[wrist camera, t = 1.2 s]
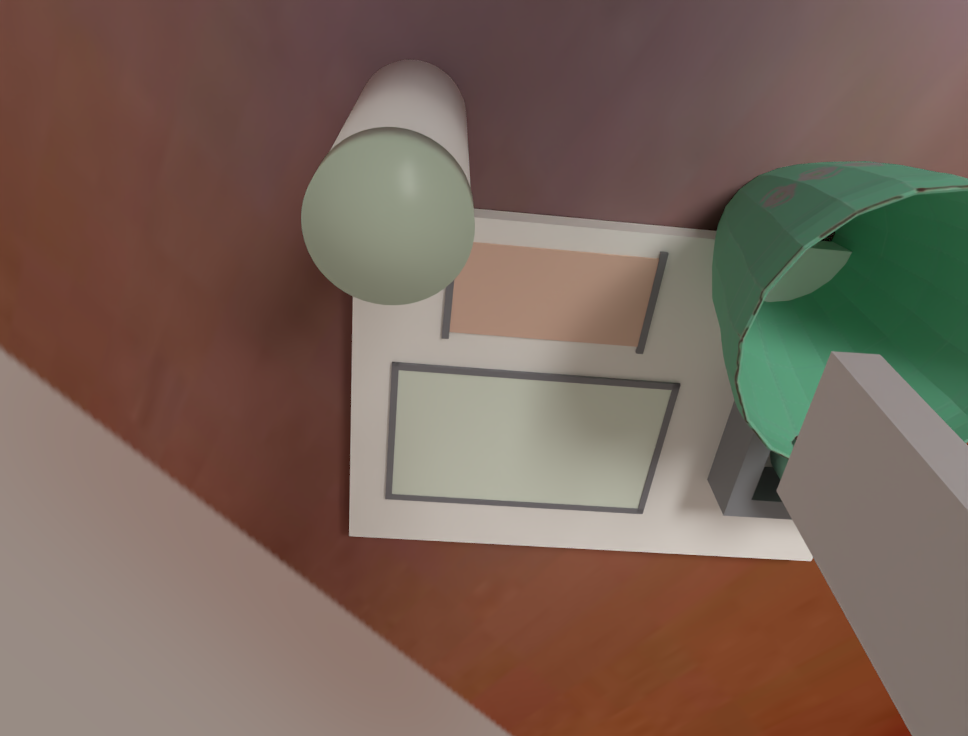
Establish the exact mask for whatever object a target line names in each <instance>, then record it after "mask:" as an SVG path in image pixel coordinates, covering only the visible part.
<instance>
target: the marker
mask: <svg viewBox="0 0 968 736" xmlns="http://www.w3.org/2000/svg"><path fill="white" fill-rule="evenodd" d="M301 225H302V233H303V237H304V242H305V244H306V247H307V250H308V252H309V254H310V256H311V258H312V260H313V261H314V263H315V264H316V266H317V267H318V269H319V270H320V271H321V272H322V273H323V275H324V276H325V277H326V278H327V279H328V280H329V281H331V282H332V283H333V284H334V285H335V286H336V287H338V288H339V289H341V290H342V291H344V292H346V293H347V294H349V295H351V296H353V297H355V298H358V299H361V300H363V301H367V302H370V303H374V304H381V305H405V304H411V303H415V302H419V301H422V300H424V299H427V298H429V297H431V296H433V295H435V294H437V293H438V292H440V291H441V290H443V289H444V288H446V287H447V286H448V285H449V284H450V283H451V282H453V280H454V279H455V278H456V277H457V276H458V275H459V273H460V272H461V270H462V269H463V267H464V266H465V264H466V262H467V260H468V258H469V256H470V253H471V250H472V246H473V241H474V235H475V219H474V205H473V196H472V192H471V187H470V169H469V152H468V134H467V116H466V107H465V103H464V99H463V97H462V94H461V92H460V90H459V88H458V87H457V85H456V84H455V82H454V81H453V80H452V79H451V78H450V76H449V75H447V74H446V73H445V72H444V71H443V70H441V69H440V68H438V67H437V66H434V65H432V64H430V63H427V62H424V61H420V60H409V59H408V60H400V61H396V62H393V63H390V64H388V65H386V66H384V67H382V68H381V69H379V70H378V71H377V72H376V73H375V74H374V75H373V76H372V77H371V78H370V79H369V81H368V82H367V83H366V85H365V87H364V89H363V91H362V92H361V94H360V96H359V98H358V100H357V102H356V103H355V105H354V107H353V109H352V111H351V113H350V115H349V116H348V118H347V120H346V122H345V124H344V126H343V128H342V129H341V131H340V133H339V135H338V137H337V139H336V141H335V142H334V144H333V146H332V148H331V150H330V152H329V153H328V154H327V155H326V156H325V158H324V159H323V161H322V162H321V163H320V165H319V167H318V169H317V171H316V173H315V174H314V176H313V178H312V180H311V182H310V184H309V186H308V188H307V190H306V193H305V196H304V199H303V204H302V210H301Z"/></svg>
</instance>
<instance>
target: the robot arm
mask: <svg viewBox="0 0 968 736" xmlns="http://www.w3.org/2000/svg"><path fill="white" fill-rule="evenodd" d="M776 491H777V493H778V495H779V497H780V498H781V500H782V502H783V504H784V506H785V507H786V509H787V511H788V513H789V515H790V516H791V518H792V520H793V522H794V524H795V526H796V527H797V529H798V531H799V533H800V535H801V536H802V538H803V540H804V542H805V544H806V545H807V547H808V549H809V551H810V553H811V554H812V556H813V558H814V560H815V562H816V563H817V565H818V567H819V569H820V571H821V572H822V574H823V576H824V578H825V580H826V581H827V583H828V585H829V587H830V589H831V590H832V592H833V594H834V596H835V598H836V600H837V601H838V603H839V605H840V607H841V609H842V610H843V612H844V614H845V616H846V618H847V619H848V621H849V623H850V625H851V627H852V628H853V630H854V632H855V634H856V636H857V637H858V639H859V641H860V643H861V645H862V646H863V648H864V650H865V652H866V654H867V655H868V657H869V659H870V661H871V663H872V665H873V666H874V668H875V670H876V672H877V674H878V675H879V677H880V679H881V681H882V683H883V684H884V686H885V688H886V690H887V692H888V693H889V695H890V697H891V699H892V701H893V702H894V704H895V706H896V708H897V710H898V711H899V713H900V715H901V717H902V719H903V720H904V722H905V724H906V726H907V728H908V729H909V731H910V733H911V735H912V736H968V445H967V444H966V443H965V442H964V441H963V440H962V439H961V438H960V437H959V436H958V435H957V434H956V433H955V432H954V431H953V430H952V429H951V428H950V427H949V426H948V425H947V424H946V423H945V421H944V420H943V419H942V418H941V417H940V416H939V415H938V414H937V413H936V412H935V411H934V410H933V409H932V408H931V407H930V406H929V405H928V404H927V403H926V402H925V401H924V400H923V399H922V398H921V397H920V395H919V394H918V393H917V392H916V391H915V390H914V389H913V388H912V387H911V386H910V385H909V384H908V383H907V382H906V381H905V380H904V379H903V378H902V377H901V376H900V375H899V374H898V373H897V372H896V371H895V370H894V368H893V367H892V366H891V365H890V364H889V363H888V362H887V361H886V360H885V359H884V358H883V357H882V356H881V355H880V354H865V353H850V352H835V351H831V354H830V356H829V359H828V361H827V364H826V366H825V369H824V371H823V374H822V376H821V379H820V381H819V384H818V386H817V389H816V392H815V394H814V397H813V399H812V402H811V404H810V407H809V409H808V412H807V414H806V417H805V419H804V422H803V424H802V427H801V430H800V432H799V435H798V437H797V440H796V442H795V445H794V447H793V450H792V452H791V455H790V457H789V460H788V462H787V465H786V467H785V470H784V473H783V475H782V478H781V480H780V483H779V485H778V488H777V490H776Z"/></svg>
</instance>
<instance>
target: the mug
mask: <svg viewBox="0 0 968 736" xmlns="http://www.w3.org/2000/svg"><path fill="white" fill-rule="evenodd" d="M834 231H836V232H835V235H834V237H833V239H832V241H831V242H834V243H836V244H838V245H840V246H842V247H844V248H846V249H848V250H850V251H852V253H851V255H850V257H849V259H848V261H847V263H846V264H845V265H844V266H843V267H842V268H841V270H840V271H839V272H838V273H837V274H836V275H835V276H834V277H833V278H832V279H831V280H830V281H829V282H827V283H826V284H824V285H823V286H821V287H820V288H818V289H816V290H815V291H813V292H812V293H810V294H807V295H804V296H801V297H798V298H796V299H793V300H790V301H777V302H766V301H764V300H765V298H766V296H767V294H768V292H769V291H770V290H771V289H772V288H773V287H774V286H775V285H776V283H777V282H778V281H779V280H780V279H781V278H782V277H783V276H784V275H785V273H786V272H787V271H788V270H789V269H790V268H791V267H792V266H793V265H794V263H795V262H796V261H797V260H798V259H799V258H800V257H801V256H802V255H803V254H804V252H805V251H806V250H808V249H809V248H810V247H812V246H813V245H815V244H816V243H818V242H819V241H821V240H822V239H824V238H825V237H827V236H828V235H830V234H831V233H833V232H834ZM712 299H713V303H714V307H715V311H716V314H717V318H718V322H719V326H720V331H721V340H722V350H723V357H724V363H725V366H726V370H727V374H728V378H729V382H730V385H731V389H732V393H733V397H734V400H735V403H736V405H737V408H738V410H739V412H740V413H741V415H742V417H743V419H744V420H745V421H746V423H747V424H748V425H749V426H750V428H751V429H752V430H753V431H754V433H755V434H756V435H757V436H758V438H759V439H760V440H761V441H762V443H763V444H764V445H765V446H766V448H767V449H768V450H770V451H772V452H774V453H776V454H778V455H780V456H782V457H784V458H786V459H788V460H789V457H790V455H791V452H792V450H793V444H792V441H793V440H794V438H795V439H796V440H797V437H798V435H799V432H800V430H801V427H802V424H803V422H804V419H805V417H806V414H807V412H808V409H809V407H810V404H811V402H812V399H813V397H814V394H815V392H816V389H817V386H818V384H819V381H820V379H821V376H822V374H823V371H824V369H825V366H826V364H827V361H828V359H829V356H830V354H831V351H835V352H850V353H865V354H880V355H881V356H882V357H883V358H884V359H885V360H886V361H887V362H888V363H889V364H890V365H891V366H892V367H893V368H894V370H895V371H896V372H897V373H898V374H899V375H900V376H901V377H902V378H903V379H904V380H905V381H906V382H907V383H908V384H909V385H910V386H911V387H912V388H913V389H914V390H915V391H916V392H917V393H918V394H919V395H920V397H921V398H922V399H923V400H924V401H925V402H926V403H927V404H928V405H929V406H930V407H931V408H932V409H933V410H934V411H935V412H936V413H937V414H938V415H939V416H940V417H941V418H942V419H943V420H944V421H945V423H946V424H947V425H948V426H949V427H950V428H951V429H952V430H953V431H954V432H955V433H956V434H957V435H958V436H959V437H960V438H961V439H962V440H963V441H964V442H965V443H967V442H968V179H967V178H964V177H960V176H956V175H952V174H947V173H939V172H934V171H929V170H924V169H919V168H913V167H908V166H903V165H896V164H886V163H876V162H866V161H860V162H821V163H808V164H797V165H792V166H787V167H782V168H777V169H775V170H772V171H770V172H767V173H764V174H762V175H759V176H757V177H756V178H754V179H753V180H752V181H750V182H749V183H747V184H746V185H745V186H743V187H742V188H741V189H739V191H738V192H737V193H736V194H735V196H734V197H733V198H732V199H731V200H730V202H729V203H728V204H727V205H726V207H725V209H724V212H723V214H722V216H721V219H720V221H719V223H718V227H717V232H716V237H715V243H714V253H713V262H712Z"/></svg>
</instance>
